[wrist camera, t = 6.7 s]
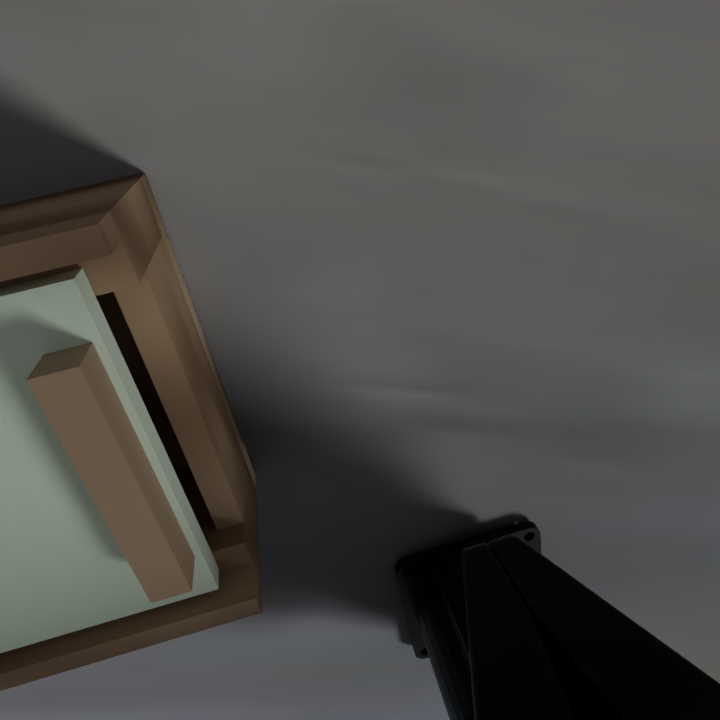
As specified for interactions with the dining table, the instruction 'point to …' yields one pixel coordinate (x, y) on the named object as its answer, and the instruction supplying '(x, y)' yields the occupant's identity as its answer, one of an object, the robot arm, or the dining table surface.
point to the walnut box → (145, 401)
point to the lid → (82, 475)
